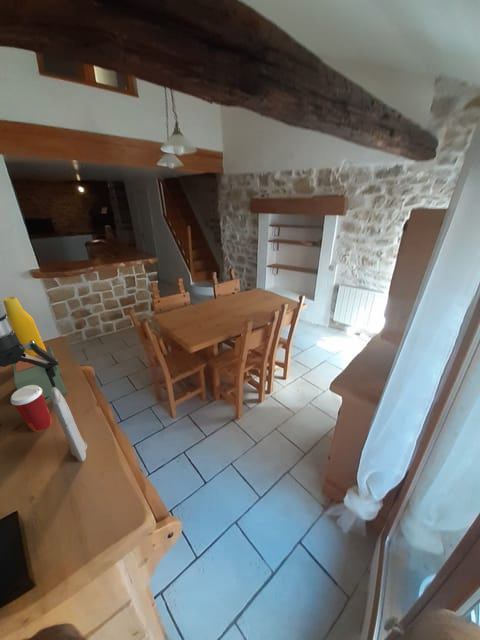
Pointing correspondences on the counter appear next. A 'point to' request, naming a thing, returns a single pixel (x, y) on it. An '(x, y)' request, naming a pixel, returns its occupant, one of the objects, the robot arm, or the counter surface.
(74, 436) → the tall pale column
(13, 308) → the yellow bottle
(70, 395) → the counter surface
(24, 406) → the paper cup
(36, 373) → the sage green crate
